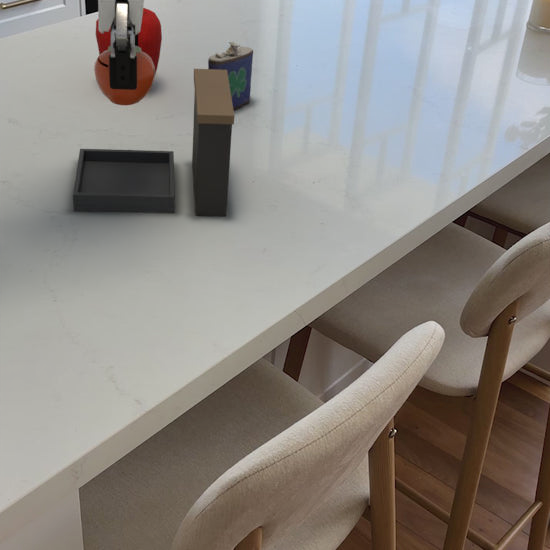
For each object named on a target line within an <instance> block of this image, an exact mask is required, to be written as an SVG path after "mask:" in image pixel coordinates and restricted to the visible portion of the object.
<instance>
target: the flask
mask: <svg viewBox="0 0 550 550" xmlns="http://www.w3.org/2000/svg"><path fill="white" fill-rule="evenodd" d="M228 43H229V45H230V46H229V47H228V48H227V49H226V51H225V52H221V53H218V52H215V54H213V55H210V56H209V57H208V60H207V65H208V66H207V67H208V68H207V69H216V70H227V73H228V79H229V85H230V91H231V98H232V104H233V110H234V111H236V110H239V109H241V108H243V107H245V106H248V104H249V103H250V101H251V90H252V89H251V87H252V74H253V73H252V72H253V57H254V49H253V48H252V47H248V46H241V44H240V45H239V44H237V43H235V42H234V41H228Z"/></svg>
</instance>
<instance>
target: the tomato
mask: <svg viewBox="0 0 550 550" xmlns="http://www.w3.org/2000/svg"><path fill="white" fill-rule="evenodd" d="M127 41H128V39H127ZM109 55H111V46H109V47H108V50H106V51H104V52H103V53H101V54H100V55H99V54H98V57H97V58H96V60H95V62H94V68H93V71H94V76H95V80H96V83H97V85H98V88H99V90H100V91H101V92H102V94H103V95H104V97H106V98H107V99H108V100H109V101H110V102H111V103H112V104H115V105H116V106H117V105H118V106H133V105H135V104H138V103H140V102H141V101H143V100H144V99H145V97H147V95H148V93H149V92H150V91H151V88H152V85H153V83H154V80H155V78H156V75H155V66H154V63H153V61H152V59H151V58H150V57H149V56H148V55H147V54H146V53H145V52H143V51H141V48H140V47H138V46H135V56H137V88H136V89H135V90H125V89H111V88H110V76H109ZM154 77H155V78H154Z"/></svg>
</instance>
